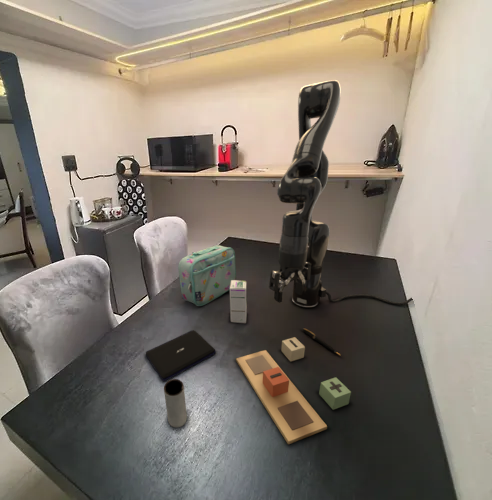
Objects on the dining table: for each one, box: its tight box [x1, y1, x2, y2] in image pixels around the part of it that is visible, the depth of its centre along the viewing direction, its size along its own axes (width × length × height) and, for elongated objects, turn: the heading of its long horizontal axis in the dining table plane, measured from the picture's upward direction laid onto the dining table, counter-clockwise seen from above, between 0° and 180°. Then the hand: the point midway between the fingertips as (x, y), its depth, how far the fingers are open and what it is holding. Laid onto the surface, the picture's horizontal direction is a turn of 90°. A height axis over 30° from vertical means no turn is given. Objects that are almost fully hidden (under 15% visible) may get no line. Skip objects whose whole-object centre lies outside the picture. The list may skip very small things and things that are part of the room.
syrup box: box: [229, 279, 248, 324], centre depth 95 cm, size 6×6×14 cm
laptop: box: [145, 329, 217, 382], centre depth 82 cm, size 16×20×2 cm
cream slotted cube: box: [280, 336, 306, 362], centre depth 79 cm, size 5×5×4 cm
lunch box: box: [177, 244, 237, 307], centre depth 110 cm, size 27×10×21 cm, turn 131°
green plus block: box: [318, 376, 352, 411], centre depth 64 cm, size 5×5×4 cm
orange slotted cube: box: [263, 366, 290, 397], centre depth 67 cm, size 5×5×4 cm
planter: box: [163, 378, 188, 429], centre depth 61 cm, size 4×4×10 cm
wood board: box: [235, 349, 328, 445], centre depth 68 cm, size 10×25×1 cm, turn 17°
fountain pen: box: [301, 328, 341, 356], centre depth 83 cm, size 14×1×2 cm, turn 27°
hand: (288, 297), depth 81 cm, fingers open, 8 cm apart
